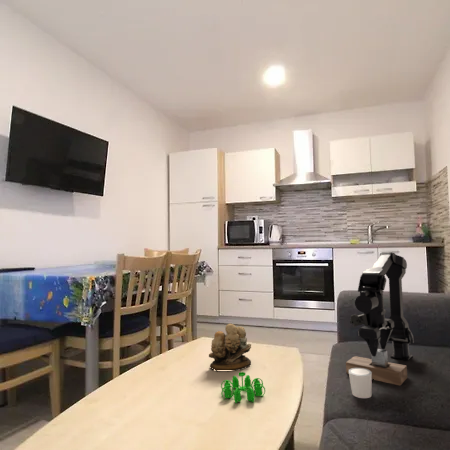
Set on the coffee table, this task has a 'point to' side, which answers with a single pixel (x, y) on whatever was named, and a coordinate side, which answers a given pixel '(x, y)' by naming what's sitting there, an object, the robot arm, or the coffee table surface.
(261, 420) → the coffee table surface
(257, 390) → the chandelier
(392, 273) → the robot arm
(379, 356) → the bracket
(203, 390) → the coffee table surface
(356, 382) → the white cylinder
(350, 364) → the post board
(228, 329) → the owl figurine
